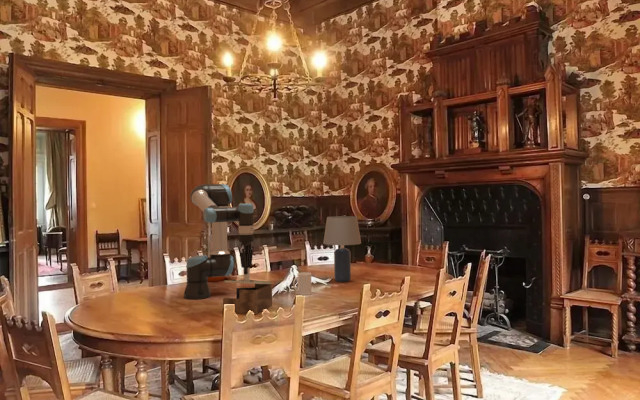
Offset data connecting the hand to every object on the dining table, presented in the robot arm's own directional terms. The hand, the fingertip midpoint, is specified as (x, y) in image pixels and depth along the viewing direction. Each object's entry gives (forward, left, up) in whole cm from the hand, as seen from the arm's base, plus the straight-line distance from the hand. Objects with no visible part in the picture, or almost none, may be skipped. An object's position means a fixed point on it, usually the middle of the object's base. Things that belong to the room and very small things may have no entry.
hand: (246, 280), depth 260 cm
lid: (0, +2, -2) cm, 2 cm away
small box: (-1, +1, -15) cm, 15 cm away
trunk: (0, +1, -15) cm, 15 cm away
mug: (+14, +45, -15) cm, 49 cm away
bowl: (-62, +78, -15) cm, 101 cm away
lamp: (+26, +93, -15) cm, 98 cm away
